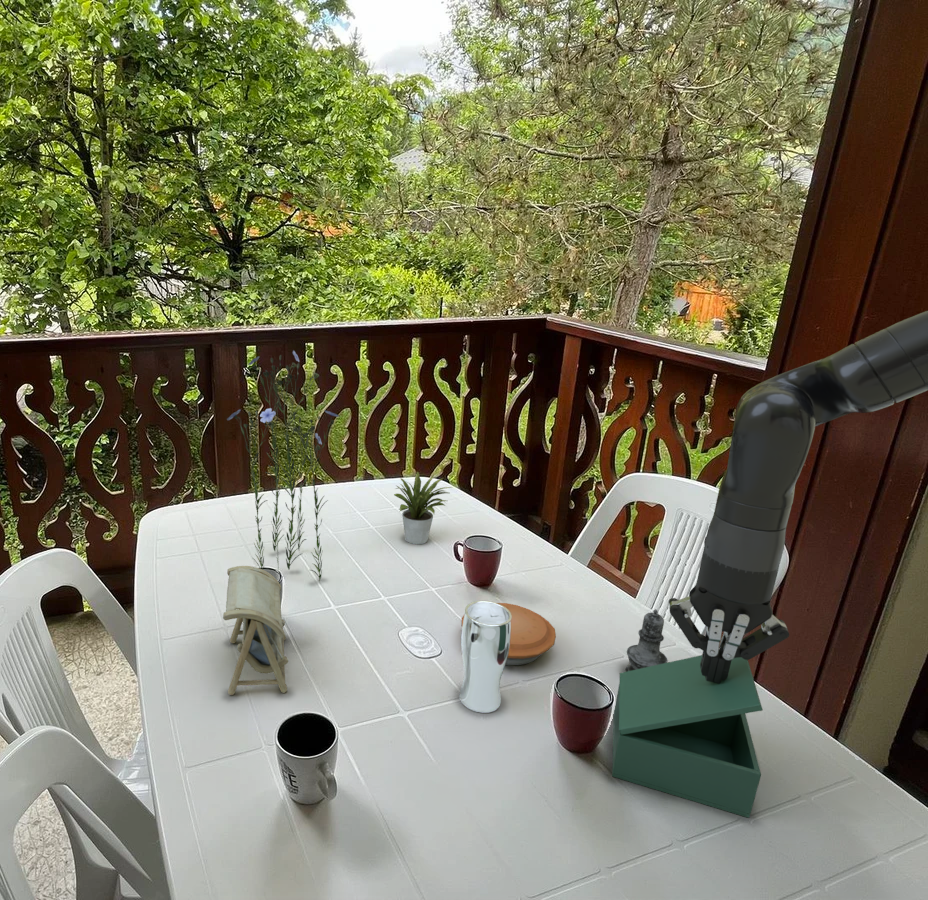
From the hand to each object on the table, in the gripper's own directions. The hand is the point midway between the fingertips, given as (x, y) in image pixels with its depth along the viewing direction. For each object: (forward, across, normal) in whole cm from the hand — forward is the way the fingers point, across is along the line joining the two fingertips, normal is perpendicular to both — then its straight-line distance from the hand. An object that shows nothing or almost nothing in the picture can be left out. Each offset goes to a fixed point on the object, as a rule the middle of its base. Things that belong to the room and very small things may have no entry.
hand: (712, 678), depth 79 cm
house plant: (+14, -52, +49) cm, 73 cm away
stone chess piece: (+14, -5, +18) cm, 24 cm away
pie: (+14, -27, +17) cm, 35 cm away
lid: (+3, -3, 0) cm, 4 cm away
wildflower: (+14, -73, +26) cm, 79 cm away
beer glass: (+14, -28, +2) cm, 31 cm away
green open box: (+14, -2, 0) cm, 14 cm away
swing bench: (+14, -63, -5) cm, 65 cm away
